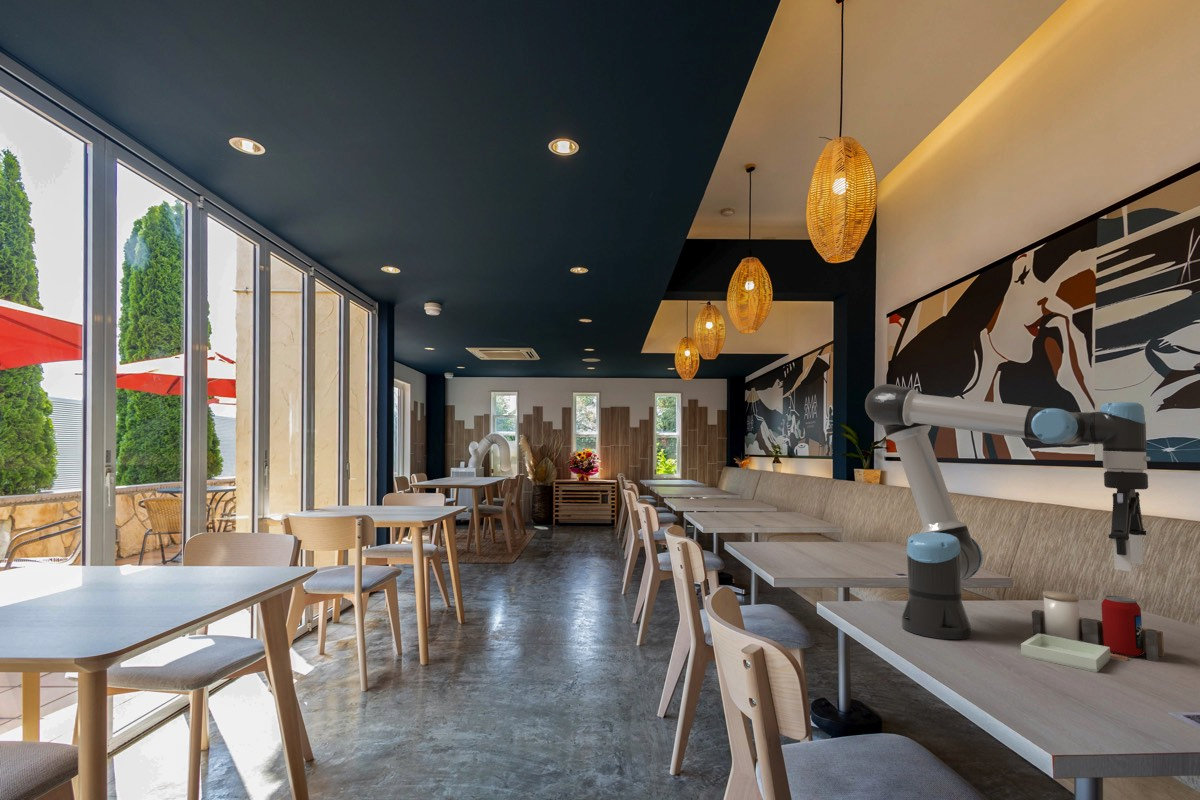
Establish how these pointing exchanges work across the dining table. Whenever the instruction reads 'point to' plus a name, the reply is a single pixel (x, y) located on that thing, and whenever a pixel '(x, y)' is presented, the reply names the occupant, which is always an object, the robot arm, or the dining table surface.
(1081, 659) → the tray
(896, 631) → the dining table surface
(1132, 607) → the beverage can
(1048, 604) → the ceramic jar
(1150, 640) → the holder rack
